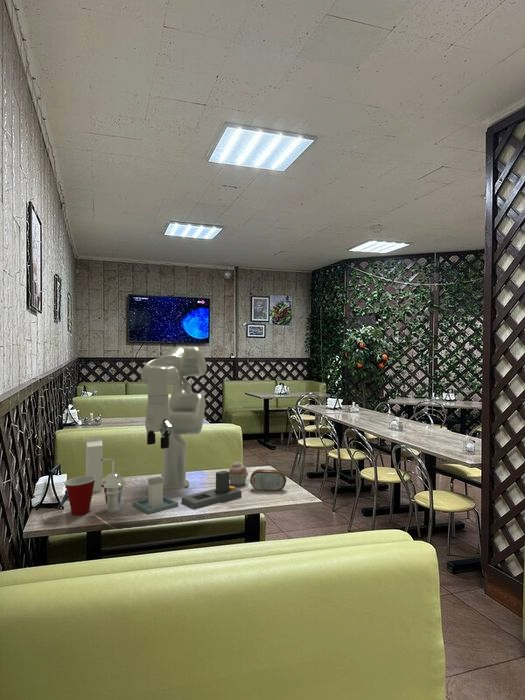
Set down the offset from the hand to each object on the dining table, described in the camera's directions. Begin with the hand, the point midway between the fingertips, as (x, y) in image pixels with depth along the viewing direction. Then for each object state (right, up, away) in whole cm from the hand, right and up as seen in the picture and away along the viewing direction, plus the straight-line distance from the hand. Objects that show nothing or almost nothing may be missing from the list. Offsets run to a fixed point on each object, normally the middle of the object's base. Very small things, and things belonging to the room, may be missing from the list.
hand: (157, 446), depth 167 cm
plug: (-1, -22, 0) cm, 22 cm away
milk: (-31, -23, +20) cm, 43 cm away
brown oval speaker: (+41, -23, +21) cm, 52 cm away
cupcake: (+28, -23, +29) cm, 46 cm away
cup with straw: (-15, -23, -5) cm, 28 cm away
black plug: (+23, -23, +11) cm, 34 cm away
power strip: (+19, -23, +7) cm, 31 cm away
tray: (-1, -23, 0) cm, 23 cm away
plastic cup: (-27, -23, -6) cm, 36 cm away
